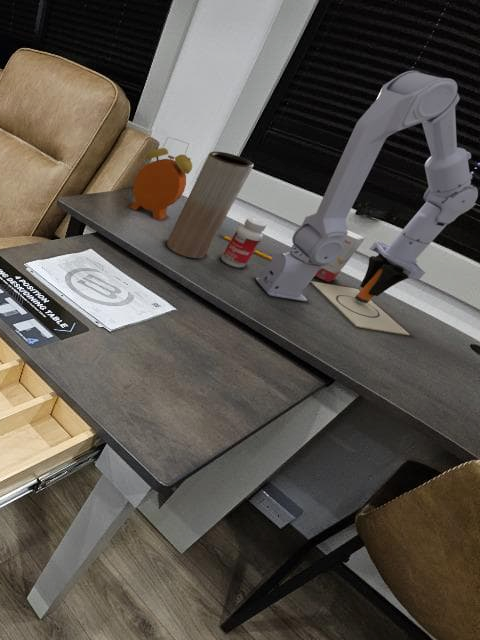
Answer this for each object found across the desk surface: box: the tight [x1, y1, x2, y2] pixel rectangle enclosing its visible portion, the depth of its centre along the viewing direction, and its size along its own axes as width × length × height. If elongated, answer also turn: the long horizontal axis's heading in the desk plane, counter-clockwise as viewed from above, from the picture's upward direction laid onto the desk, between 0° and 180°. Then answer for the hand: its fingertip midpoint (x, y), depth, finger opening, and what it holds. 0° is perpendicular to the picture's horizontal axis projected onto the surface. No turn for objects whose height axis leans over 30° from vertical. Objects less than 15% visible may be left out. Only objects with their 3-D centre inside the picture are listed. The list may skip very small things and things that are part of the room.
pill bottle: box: [220, 217, 267, 269], centre depth 114 cm, size 6×6×11 cm
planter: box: [166, 150, 254, 259], centre depth 111 cm, size 10×10×23 cm
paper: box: [310, 280, 411, 336], centre depth 109 cm, size 13×20×1 cm, turn 177°
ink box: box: [314, 229, 366, 283], centre depth 117 cm, size 9×5×12 cm, turn 33°
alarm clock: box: [129, 136, 193, 221], centre depth 130 cm, size 13×6×20 cm, turn 49°
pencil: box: [222, 235, 273, 261], centre depth 126 cm, size 1×18×1 cm, turn 39°
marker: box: [355, 264, 393, 303], centre depth 107 cm, size 3×3×9 cm
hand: (368, 291), depth 108 cm, fingers closed on marker, 3 cm apart
